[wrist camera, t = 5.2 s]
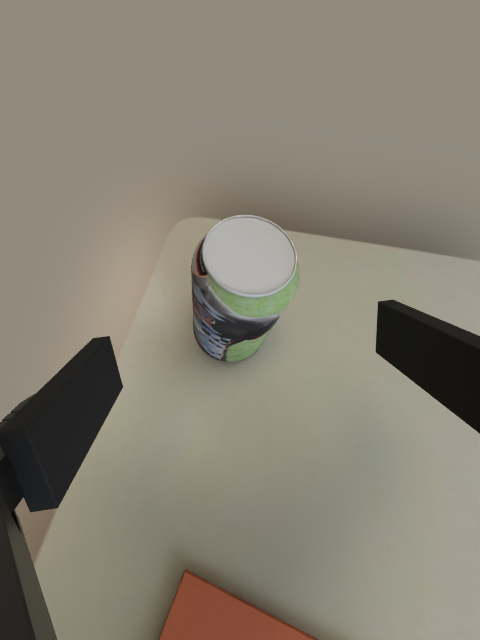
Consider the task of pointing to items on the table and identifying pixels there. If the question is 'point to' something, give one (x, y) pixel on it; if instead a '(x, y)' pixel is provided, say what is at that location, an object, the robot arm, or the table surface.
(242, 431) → the table surface
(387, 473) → the table surface
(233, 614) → the clay mat
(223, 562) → the table surface
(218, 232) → the beverage can
